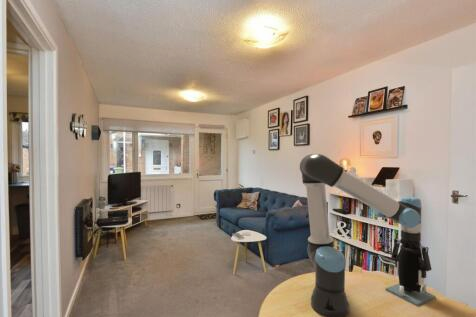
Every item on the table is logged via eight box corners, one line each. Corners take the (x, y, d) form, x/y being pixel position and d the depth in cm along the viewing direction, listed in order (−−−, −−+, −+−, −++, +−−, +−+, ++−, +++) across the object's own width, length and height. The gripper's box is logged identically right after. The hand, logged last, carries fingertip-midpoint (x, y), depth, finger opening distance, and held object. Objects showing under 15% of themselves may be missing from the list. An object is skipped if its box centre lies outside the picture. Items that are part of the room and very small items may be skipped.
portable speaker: (425, 295, 109) (425, 251, 109) (400, 291, 113) (400, 248, 113) (418, 286, 117) (419, 245, 117) (395, 282, 121) (396, 242, 121)
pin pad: (417, 306, 106) (417, 294, 106) (385, 290, 118) (385, 279, 118) (435, 298, 112) (435, 287, 112) (403, 283, 124) (403, 273, 124)
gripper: (442, 236, 107) (441, 288, 107) (392, 224, 126) (391, 268, 126) (432, 239, 103) (431, 293, 104) (382, 225, 123) (382, 271, 123)
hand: (409, 279), depth 115 cm, fingers closed on portable speaker, 9 cm apart
